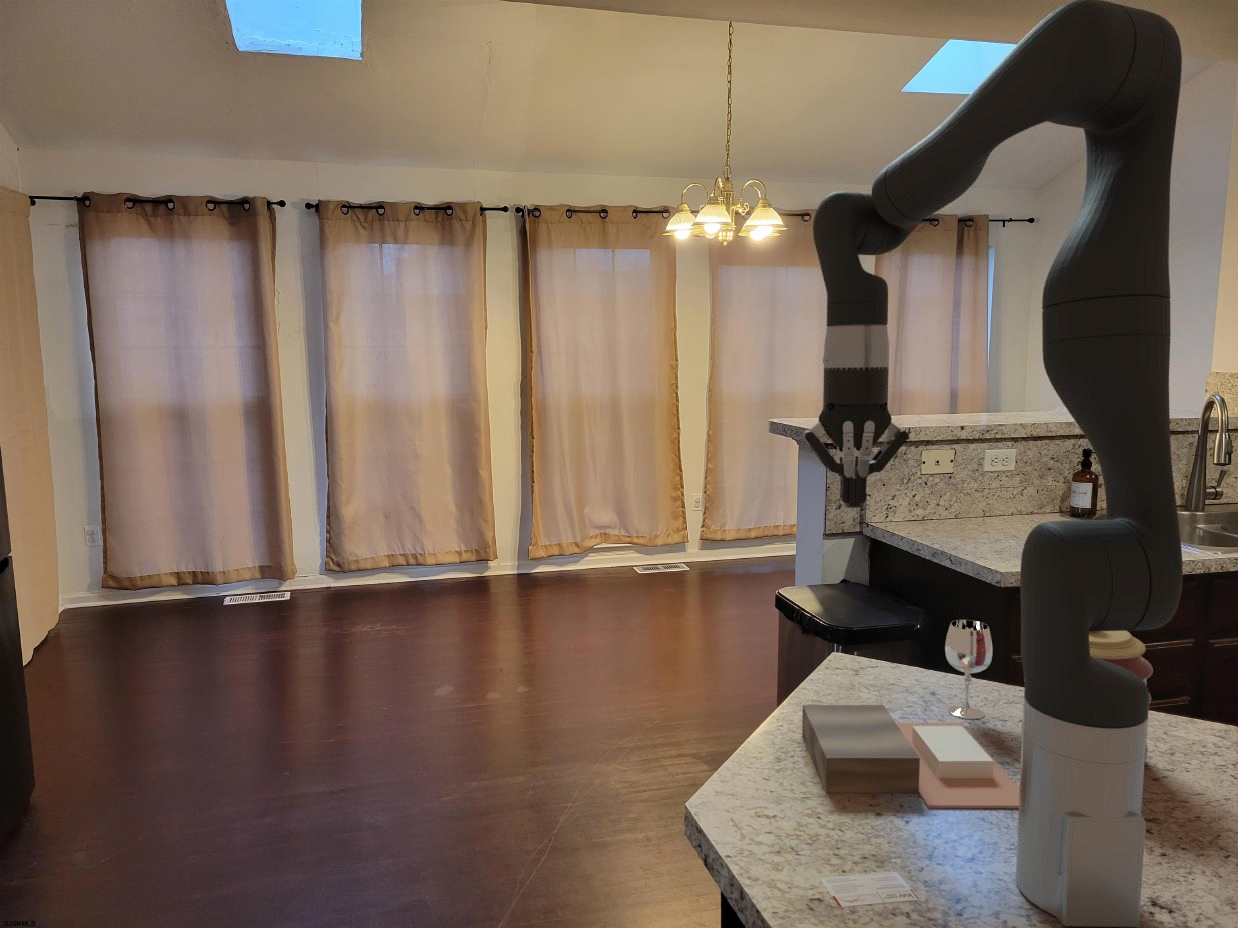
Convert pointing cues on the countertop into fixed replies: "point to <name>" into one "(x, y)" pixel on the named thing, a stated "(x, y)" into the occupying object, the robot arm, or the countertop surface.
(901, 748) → the block
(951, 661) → the wineglass
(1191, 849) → the countertop surface
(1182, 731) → the countertop surface
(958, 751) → the pale grey rectangular block
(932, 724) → the mat
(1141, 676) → the canister
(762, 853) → the countertop surface
